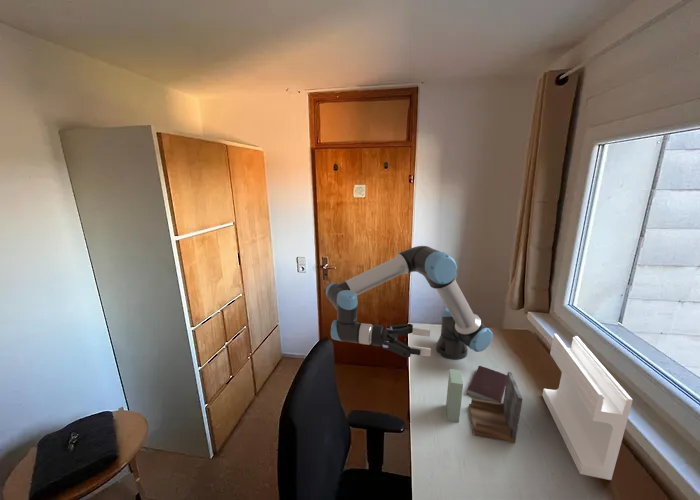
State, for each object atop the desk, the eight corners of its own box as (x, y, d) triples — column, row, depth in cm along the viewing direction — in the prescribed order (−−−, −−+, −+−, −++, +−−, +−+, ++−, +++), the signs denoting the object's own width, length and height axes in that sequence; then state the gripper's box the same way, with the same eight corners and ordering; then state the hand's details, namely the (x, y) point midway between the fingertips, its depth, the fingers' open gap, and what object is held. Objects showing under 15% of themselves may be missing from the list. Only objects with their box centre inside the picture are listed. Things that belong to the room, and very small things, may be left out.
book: (507, 381, 137) (508, 374, 136) (499, 408, 122) (500, 400, 121) (477, 371, 144) (478, 365, 143) (466, 395, 128) (467, 388, 128)
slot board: (468, 406, 121) (473, 367, 117) (505, 412, 119) (511, 372, 114) (474, 435, 108) (479, 392, 104) (515, 443, 105) (522, 398, 101)
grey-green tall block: (446, 404, 122) (449, 369, 118) (456, 406, 121) (460, 370, 118) (447, 420, 115) (451, 382, 111) (458, 422, 114) (463, 384, 110)
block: (611, 480, 93) (632, 399, 86) (580, 473, 95) (598, 394, 88) (564, 399, 126) (577, 336, 119) (542, 395, 128) (553, 333, 121)
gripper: (376, 328, 130) (429, 334, 126) (365, 362, 107) (430, 372, 102) (377, 311, 129) (430, 317, 124) (366, 342, 105) (431, 351, 100)
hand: (430, 342), depth 113 cm, fingers open, 13 cm apart
